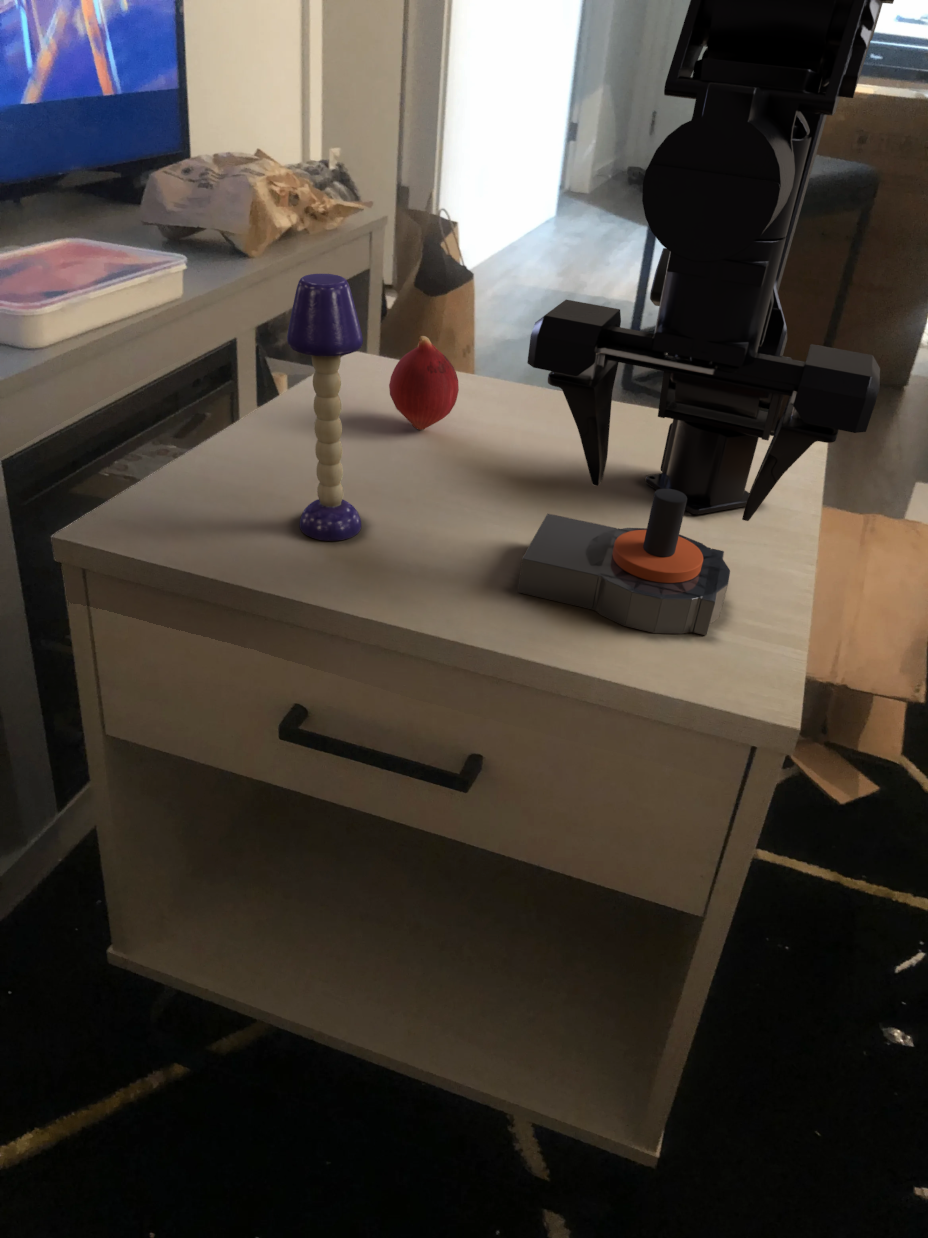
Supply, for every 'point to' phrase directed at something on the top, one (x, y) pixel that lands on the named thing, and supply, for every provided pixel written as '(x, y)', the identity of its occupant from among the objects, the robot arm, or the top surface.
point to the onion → (424, 385)
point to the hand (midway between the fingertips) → (670, 500)
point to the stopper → (660, 544)
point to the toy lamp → (326, 393)
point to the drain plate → (618, 579)
